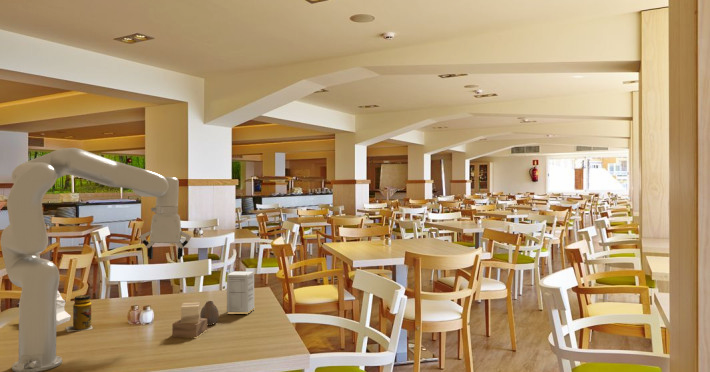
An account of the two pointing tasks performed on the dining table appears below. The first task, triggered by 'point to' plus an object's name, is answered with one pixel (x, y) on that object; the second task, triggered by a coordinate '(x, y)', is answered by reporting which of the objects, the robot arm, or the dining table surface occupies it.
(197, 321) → the oak cube
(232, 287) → the supplement box
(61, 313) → the white faceted lump
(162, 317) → the dining table surface
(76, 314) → the condiment
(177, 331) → the walnut block
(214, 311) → the vase
